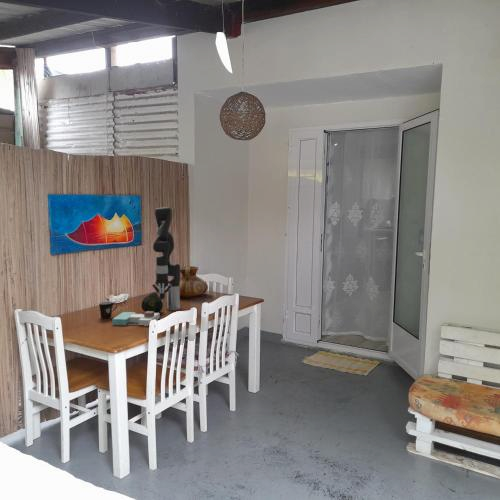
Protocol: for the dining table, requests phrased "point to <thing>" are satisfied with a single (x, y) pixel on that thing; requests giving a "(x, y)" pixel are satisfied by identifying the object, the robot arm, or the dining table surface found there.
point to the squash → (152, 303)
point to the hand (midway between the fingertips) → (162, 298)
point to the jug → (191, 283)
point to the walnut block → (149, 314)
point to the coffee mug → (106, 309)
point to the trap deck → (133, 319)
